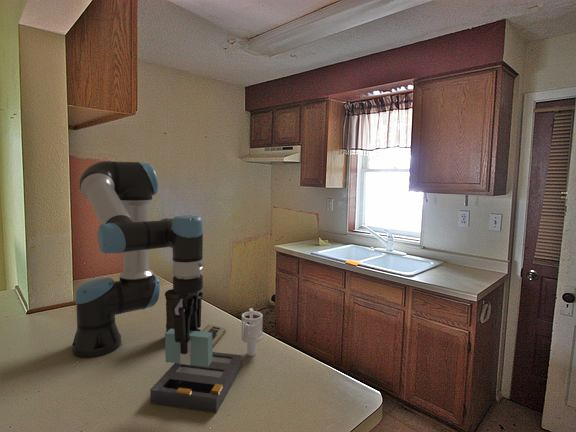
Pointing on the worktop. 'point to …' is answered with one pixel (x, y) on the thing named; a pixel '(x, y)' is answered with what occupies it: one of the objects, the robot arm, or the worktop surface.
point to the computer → (215, 332)
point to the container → (170, 308)
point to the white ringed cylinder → (252, 330)
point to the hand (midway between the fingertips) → (188, 359)
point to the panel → (199, 348)
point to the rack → (197, 384)
